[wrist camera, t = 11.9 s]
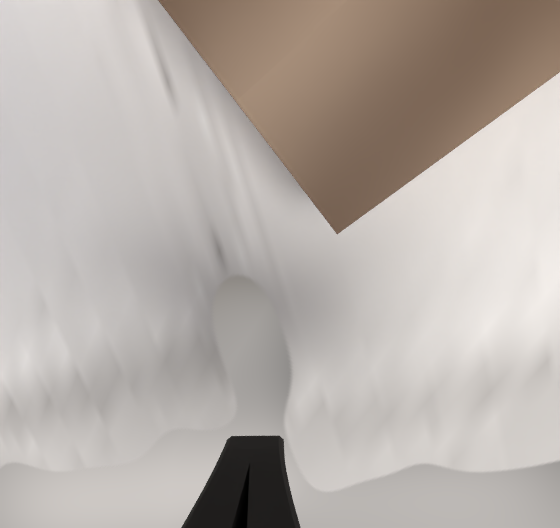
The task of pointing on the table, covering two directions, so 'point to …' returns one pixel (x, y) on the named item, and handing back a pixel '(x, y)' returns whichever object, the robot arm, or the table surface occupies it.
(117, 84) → the table surface
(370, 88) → the socket block
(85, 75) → the table surface
